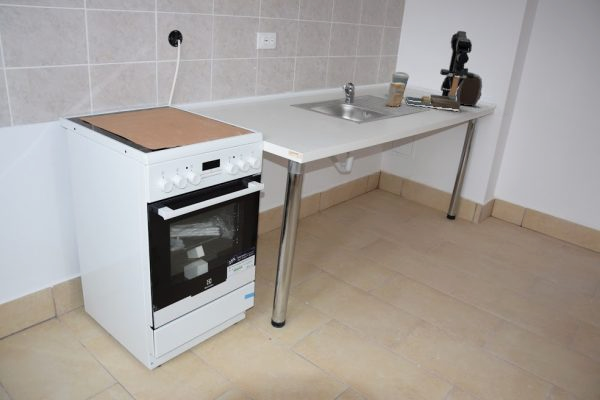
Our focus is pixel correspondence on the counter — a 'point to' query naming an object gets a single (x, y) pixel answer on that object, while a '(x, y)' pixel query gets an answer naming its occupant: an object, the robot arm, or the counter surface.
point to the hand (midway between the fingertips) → (453, 88)
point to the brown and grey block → (453, 88)
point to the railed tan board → (444, 102)
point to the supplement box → (395, 94)
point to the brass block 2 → (426, 100)
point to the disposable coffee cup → (400, 78)
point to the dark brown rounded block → (469, 90)
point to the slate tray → (416, 102)
